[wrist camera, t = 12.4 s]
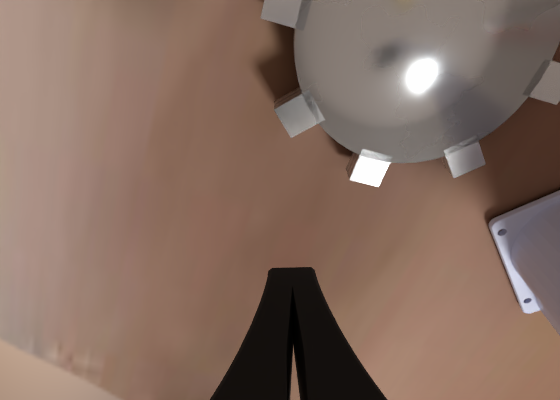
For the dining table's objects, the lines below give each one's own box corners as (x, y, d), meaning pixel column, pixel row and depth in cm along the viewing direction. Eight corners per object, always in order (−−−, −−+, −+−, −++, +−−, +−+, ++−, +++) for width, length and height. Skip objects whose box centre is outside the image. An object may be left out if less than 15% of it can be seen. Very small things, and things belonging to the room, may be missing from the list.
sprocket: (657, -177, 13) (857, -249, 8) (518, 175, 20) (584, 234, 16) (256, -176, 13) (245, -249, 8) (265, 175, 20) (262, 235, 16)
